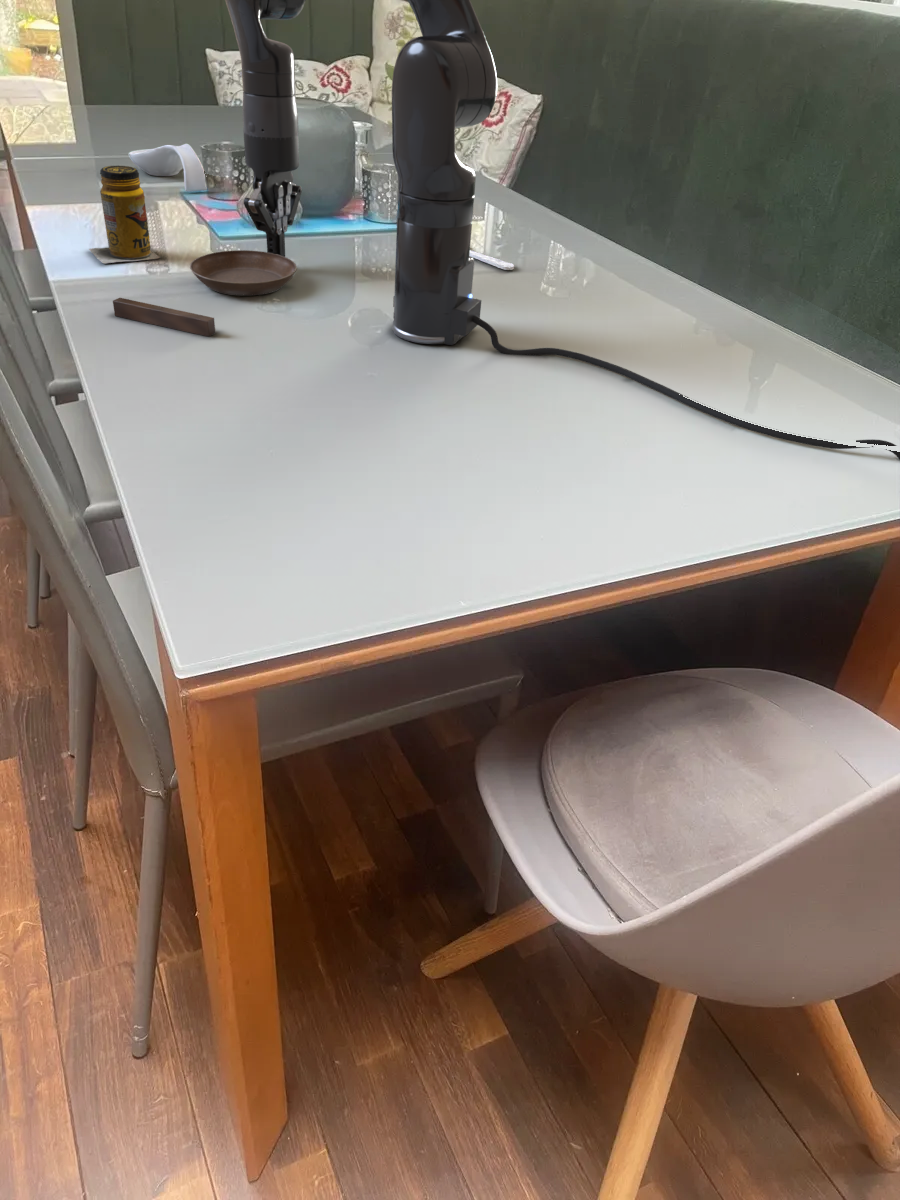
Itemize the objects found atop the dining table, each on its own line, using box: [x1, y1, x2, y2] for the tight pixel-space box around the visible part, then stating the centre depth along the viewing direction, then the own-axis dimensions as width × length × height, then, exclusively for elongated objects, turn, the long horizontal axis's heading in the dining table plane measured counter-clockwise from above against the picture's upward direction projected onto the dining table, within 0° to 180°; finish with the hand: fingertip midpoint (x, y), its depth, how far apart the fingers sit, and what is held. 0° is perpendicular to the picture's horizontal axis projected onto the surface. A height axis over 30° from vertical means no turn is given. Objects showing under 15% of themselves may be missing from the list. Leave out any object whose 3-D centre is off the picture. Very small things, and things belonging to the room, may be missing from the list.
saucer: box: [189, 249, 298, 297], centre depth 127 cm, size 15×15×3 cm
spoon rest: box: [128, 143, 208, 193], centre depth 173 cm, size 24×12×7 cm, turn 37°
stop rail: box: [112, 297, 216, 337], centre depth 113 cm, size 14×2×2 cm, turn 69°
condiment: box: [88, 164, 161, 264], centre depth 131 cm, size 7×8×12 cm
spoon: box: [469, 249, 515, 271], centre depth 147 cm, size 5×18×1 cm, turn 44°
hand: (276, 258), depth 134 cm, fingers closed
